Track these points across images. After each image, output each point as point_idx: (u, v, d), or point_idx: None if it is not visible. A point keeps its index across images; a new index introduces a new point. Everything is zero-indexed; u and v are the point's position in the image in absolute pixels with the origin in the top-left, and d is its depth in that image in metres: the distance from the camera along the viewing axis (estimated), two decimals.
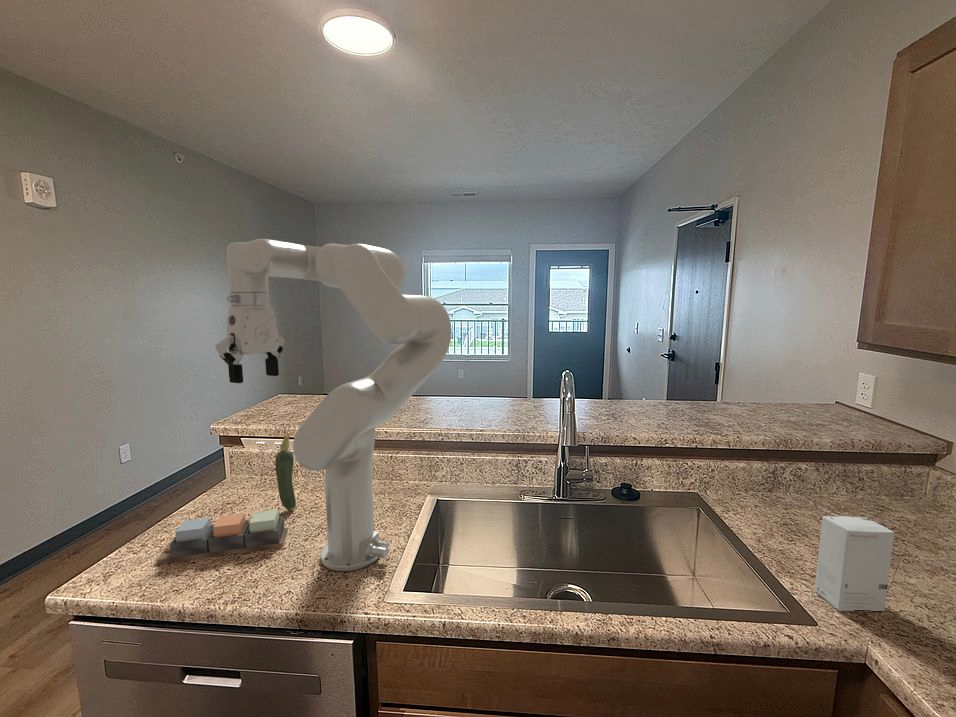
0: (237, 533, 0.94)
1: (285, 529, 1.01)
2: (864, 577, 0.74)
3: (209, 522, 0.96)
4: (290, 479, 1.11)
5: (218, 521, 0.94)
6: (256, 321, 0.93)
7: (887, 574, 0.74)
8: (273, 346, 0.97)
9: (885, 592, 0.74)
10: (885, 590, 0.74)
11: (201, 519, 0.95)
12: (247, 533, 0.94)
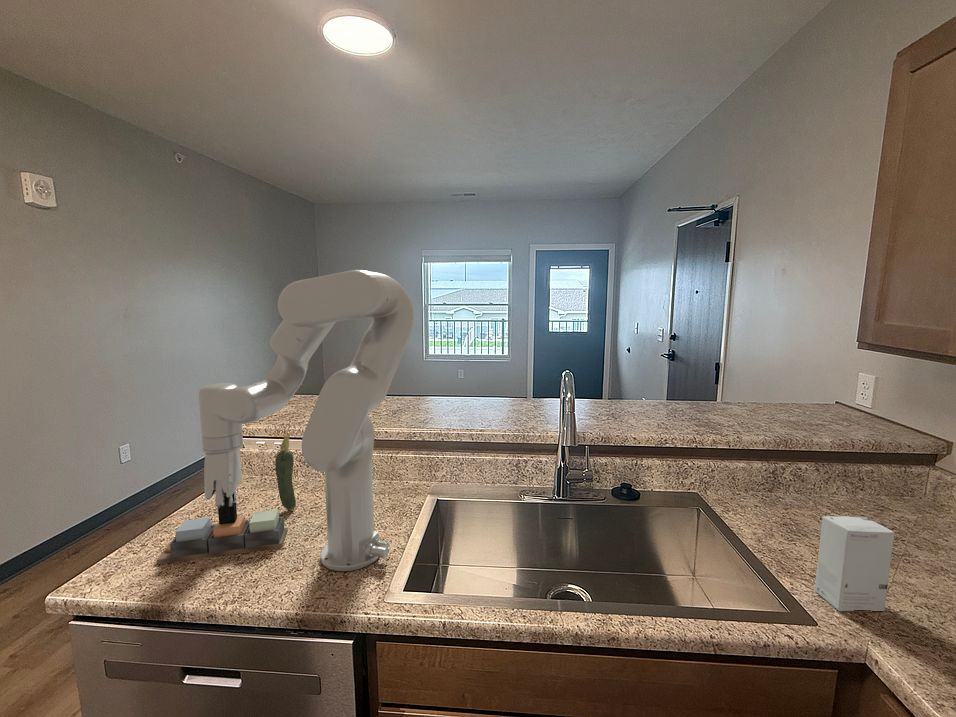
0: None
1: (285, 529, 1.01)
2: (864, 577, 0.74)
3: (209, 522, 0.96)
4: (290, 479, 1.11)
5: (218, 523, 0.95)
6: None
7: (887, 574, 0.74)
8: None
9: (885, 592, 0.74)
10: (885, 590, 0.74)
11: (201, 519, 0.95)
12: (247, 533, 0.94)
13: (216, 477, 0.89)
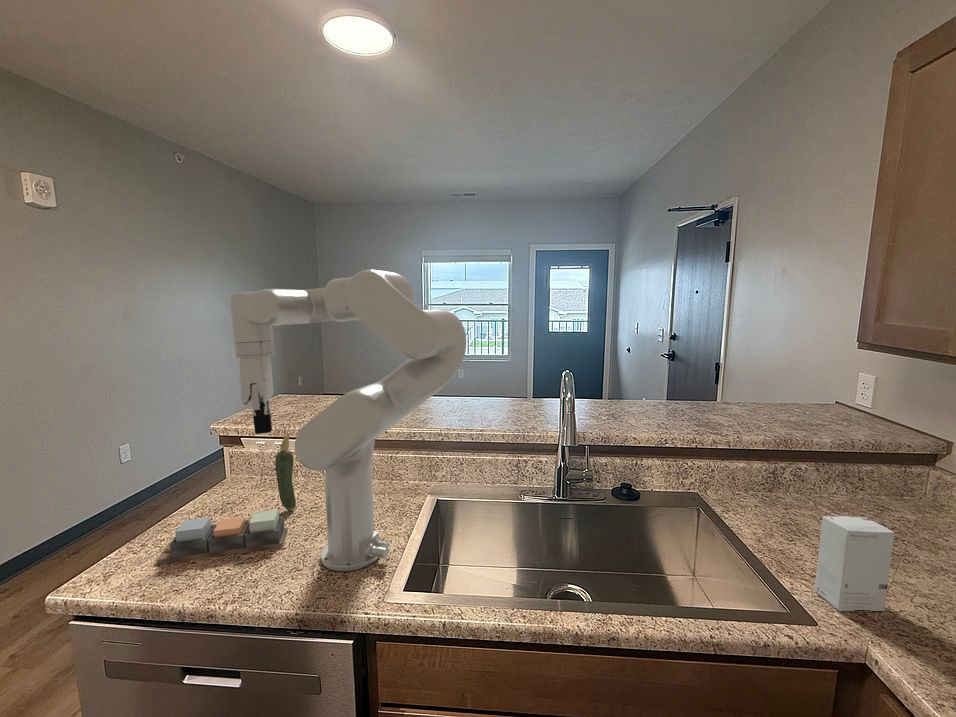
0: None
1: (285, 529, 1.01)
2: (864, 577, 0.74)
3: (209, 522, 0.96)
4: (290, 479, 1.11)
5: (218, 525, 0.95)
6: None
7: (887, 574, 0.74)
8: None
9: (885, 592, 0.74)
10: (885, 590, 0.74)
11: (201, 519, 0.95)
12: (247, 533, 0.94)
13: (252, 380, 0.90)
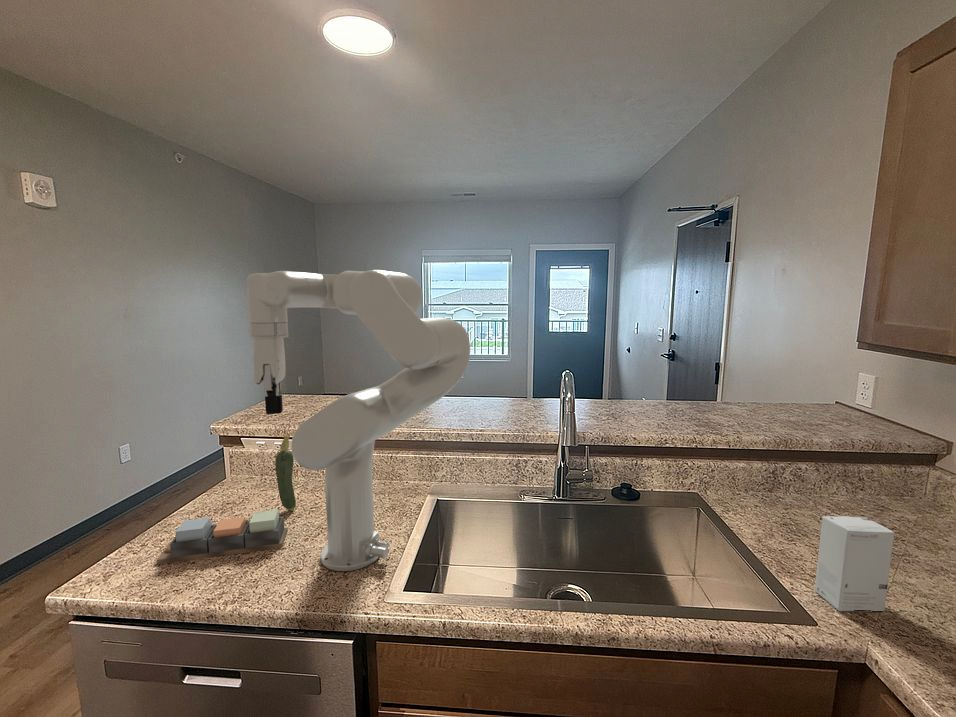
0: None
1: (285, 529, 1.01)
2: (864, 577, 0.74)
3: (209, 522, 0.96)
4: (290, 479, 1.11)
5: (218, 525, 0.95)
6: None
7: (887, 574, 0.74)
8: None
9: (885, 592, 0.74)
10: (885, 590, 0.74)
11: (201, 519, 0.95)
12: (247, 533, 0.94)
13: (265, 361, 0.91)
